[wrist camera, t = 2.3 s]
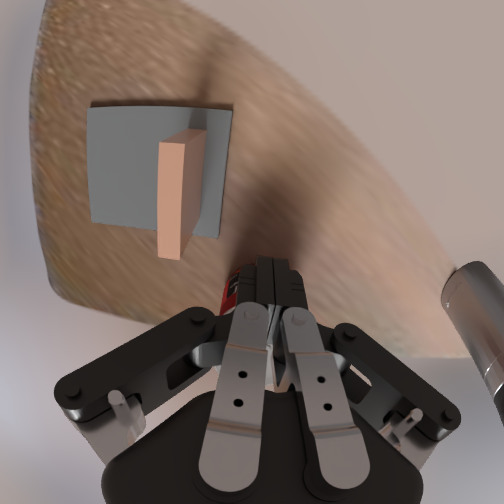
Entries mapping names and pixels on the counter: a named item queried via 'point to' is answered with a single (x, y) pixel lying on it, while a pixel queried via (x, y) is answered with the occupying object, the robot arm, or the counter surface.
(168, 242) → the block
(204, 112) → the mat
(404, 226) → the counter surface
